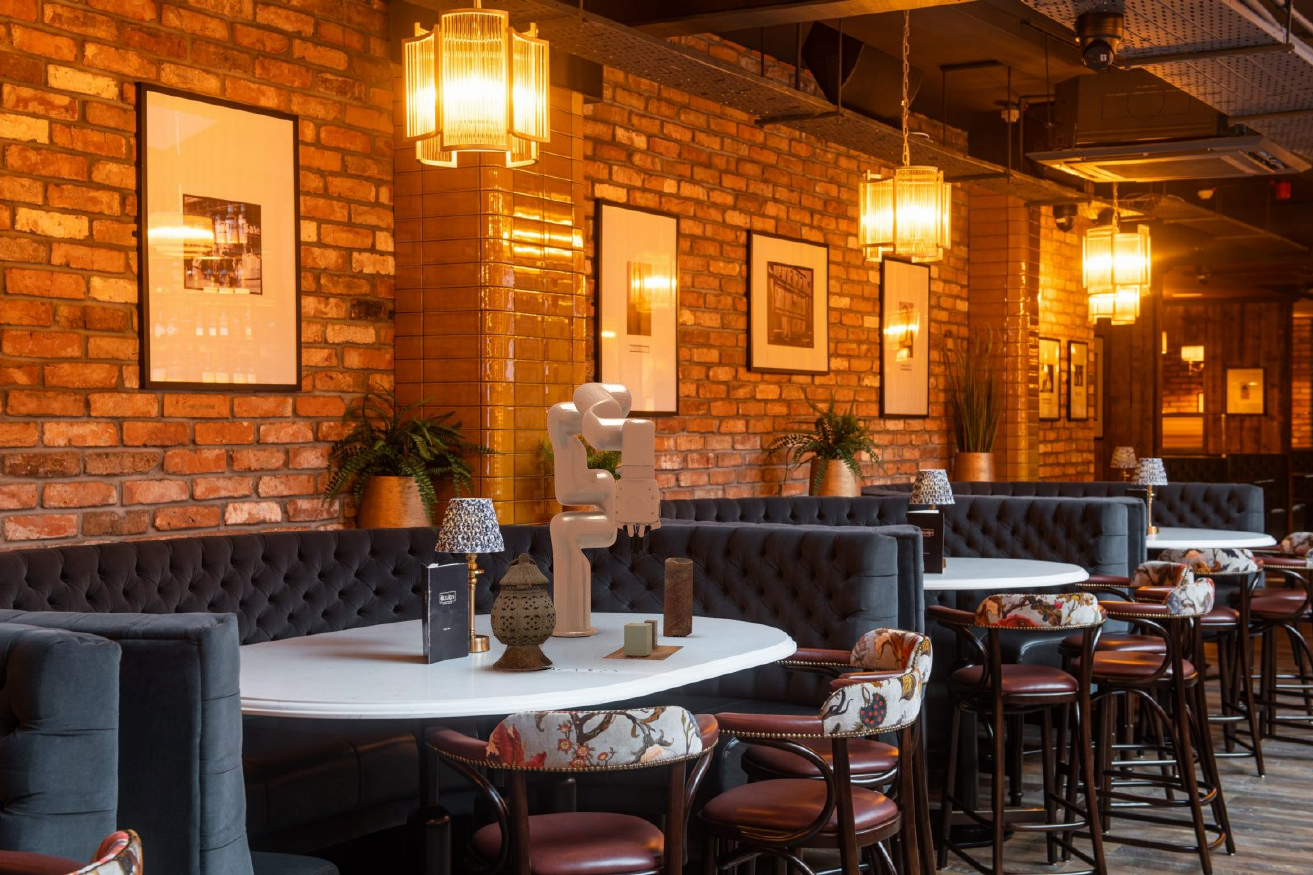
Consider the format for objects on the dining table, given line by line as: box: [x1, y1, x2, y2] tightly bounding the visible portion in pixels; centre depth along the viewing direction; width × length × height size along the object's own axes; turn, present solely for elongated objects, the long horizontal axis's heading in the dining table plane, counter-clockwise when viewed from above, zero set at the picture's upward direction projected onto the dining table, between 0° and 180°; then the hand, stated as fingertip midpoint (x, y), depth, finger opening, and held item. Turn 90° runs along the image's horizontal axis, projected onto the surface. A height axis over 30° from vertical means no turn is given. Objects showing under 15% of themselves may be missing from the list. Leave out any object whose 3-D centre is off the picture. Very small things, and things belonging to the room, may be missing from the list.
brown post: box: [643, 619, 658, 649], centre depth 324 cm, size 3×3×6 cm
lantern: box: [490, 552, 556, 673], centre depth 302 cm, size 14×14×25 cm
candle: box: [662, 557, 694, 638], centre depth 348 cm, size 8×7×20 cm
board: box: [602, 644, 685, 661], centre depth 318 cm, size 14×22×1 cm, turn 166°
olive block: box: [623, 622, 652, 656], centre depth 312 cm, size 5×5×7 cm
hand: (637, 553), depth 313 cm, fingers closed
